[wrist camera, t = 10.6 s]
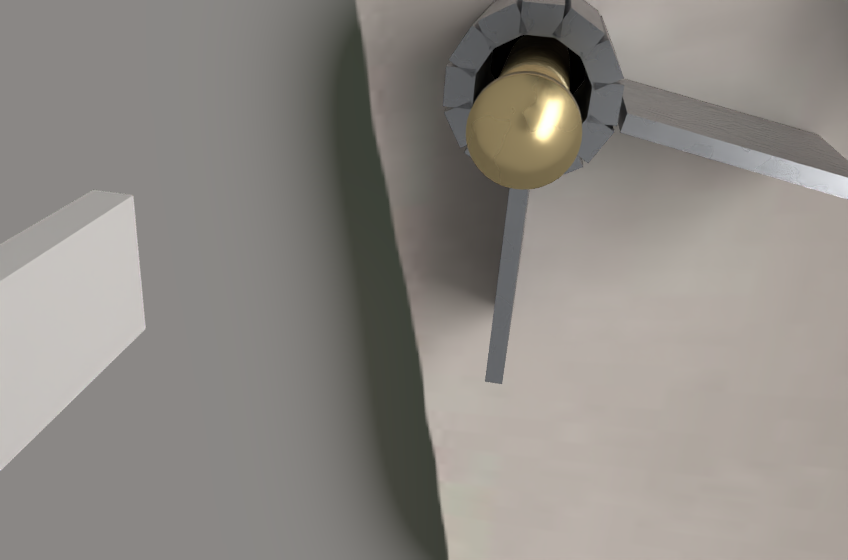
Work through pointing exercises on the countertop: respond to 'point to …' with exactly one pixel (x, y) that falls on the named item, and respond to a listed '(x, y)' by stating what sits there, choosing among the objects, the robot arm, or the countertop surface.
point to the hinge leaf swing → (732, 138)
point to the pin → (527, 117)
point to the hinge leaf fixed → (596, 97)
